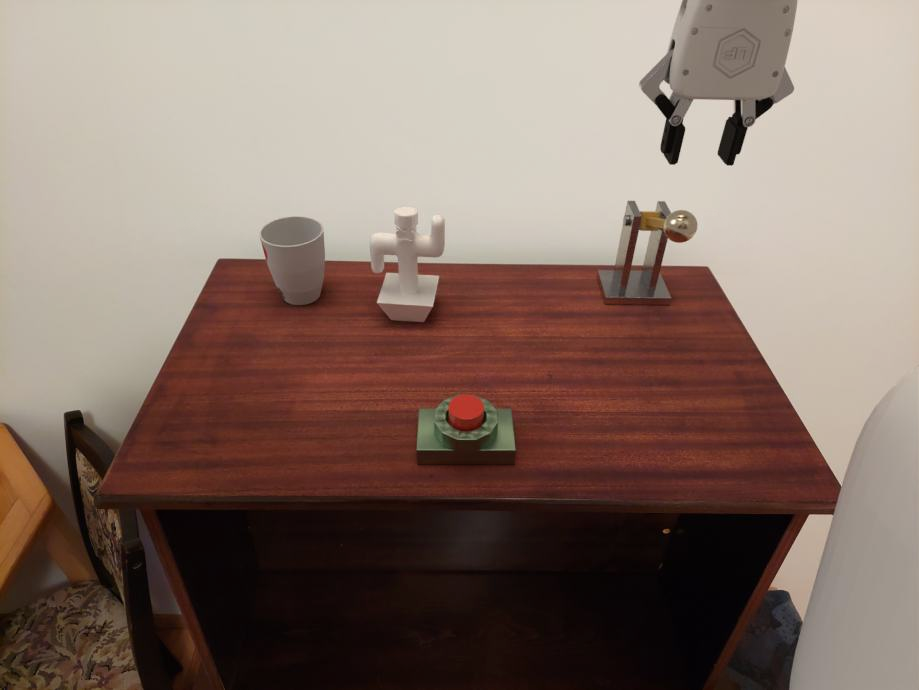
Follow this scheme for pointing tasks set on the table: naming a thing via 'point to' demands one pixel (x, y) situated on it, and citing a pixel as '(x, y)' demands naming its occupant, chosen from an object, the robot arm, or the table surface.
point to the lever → (671, 224)
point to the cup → (295, 257)
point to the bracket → (622, 281)
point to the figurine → (407, 266)
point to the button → (466, 412)
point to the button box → (465, 437)
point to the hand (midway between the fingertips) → (697, 158)
